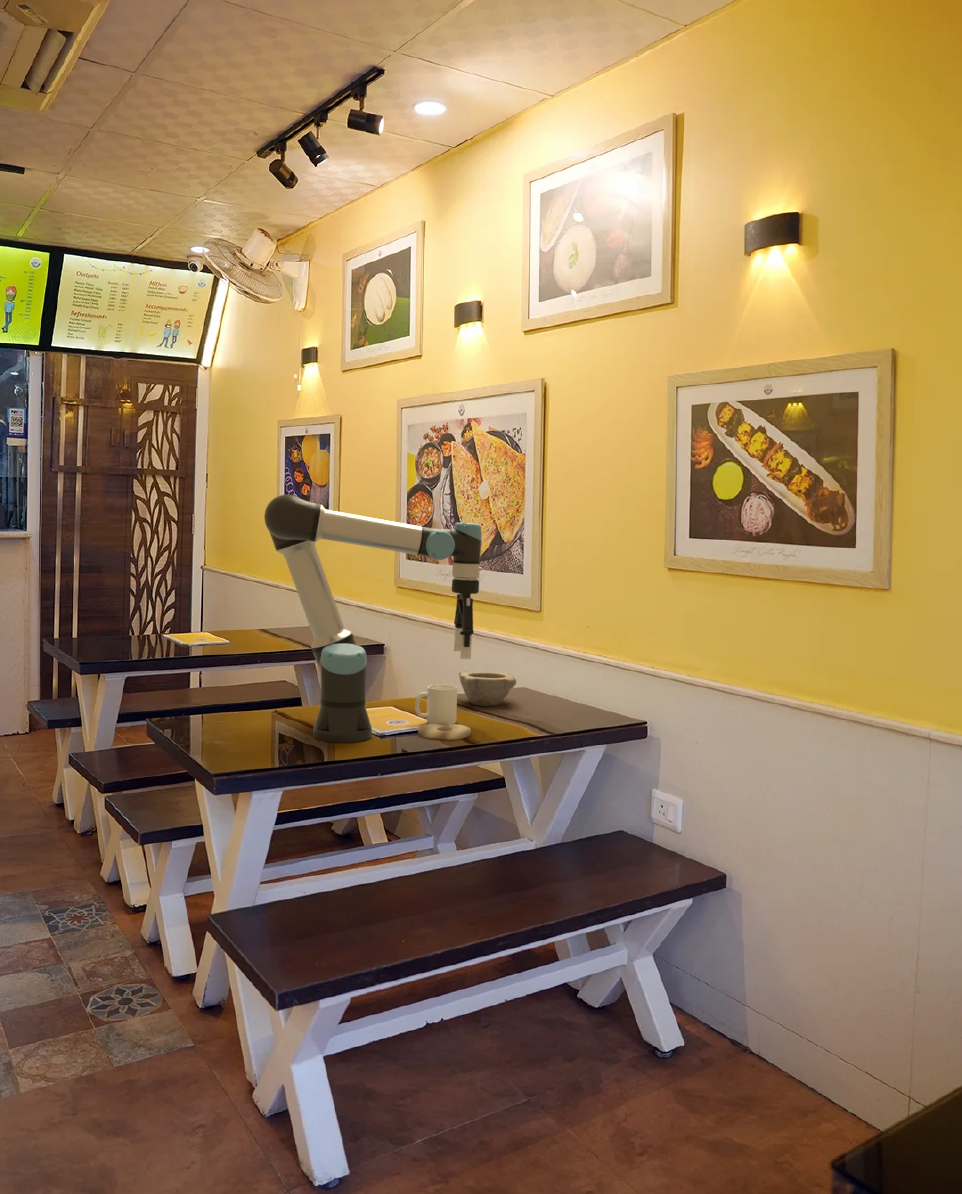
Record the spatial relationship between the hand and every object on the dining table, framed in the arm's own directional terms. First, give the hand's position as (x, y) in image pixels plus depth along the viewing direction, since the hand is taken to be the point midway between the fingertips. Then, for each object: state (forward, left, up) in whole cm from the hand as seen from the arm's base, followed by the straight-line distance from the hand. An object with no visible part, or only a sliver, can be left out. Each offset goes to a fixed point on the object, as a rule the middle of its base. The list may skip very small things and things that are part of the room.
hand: (462, 654), depth 278 cm
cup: (-7, +1, -20) cm, 21 cm away
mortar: (+12, +28, -20) cm, 36 cm away
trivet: (-6, -12, -19) cm, 24 cm away
